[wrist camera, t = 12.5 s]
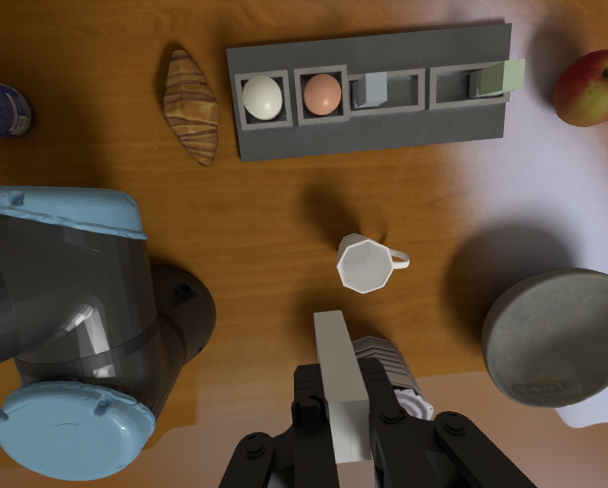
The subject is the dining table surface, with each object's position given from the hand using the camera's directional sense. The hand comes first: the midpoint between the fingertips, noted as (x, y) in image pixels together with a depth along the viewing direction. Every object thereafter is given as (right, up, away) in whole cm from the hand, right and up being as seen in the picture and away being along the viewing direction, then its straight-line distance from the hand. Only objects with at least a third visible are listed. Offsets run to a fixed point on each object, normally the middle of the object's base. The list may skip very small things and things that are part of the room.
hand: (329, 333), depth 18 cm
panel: (+7, +24, +24) cm, 34 cm away
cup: (+7, +4, +30) cm, 31 cm away
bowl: (+33, -7, +34) cm, 48 cm away
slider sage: (+20, +24, +23) cm, 39 cm away
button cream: (-6, +21, +20) cm, 30 cm away
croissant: (-15, +22, +24) cm, 36 cm away
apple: (+33, +24, +25) cm, 48 cm away
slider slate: (+6, +23, +23) cm, 33 cm away
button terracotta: (+1, +22, +23) cm, 32 cm away
